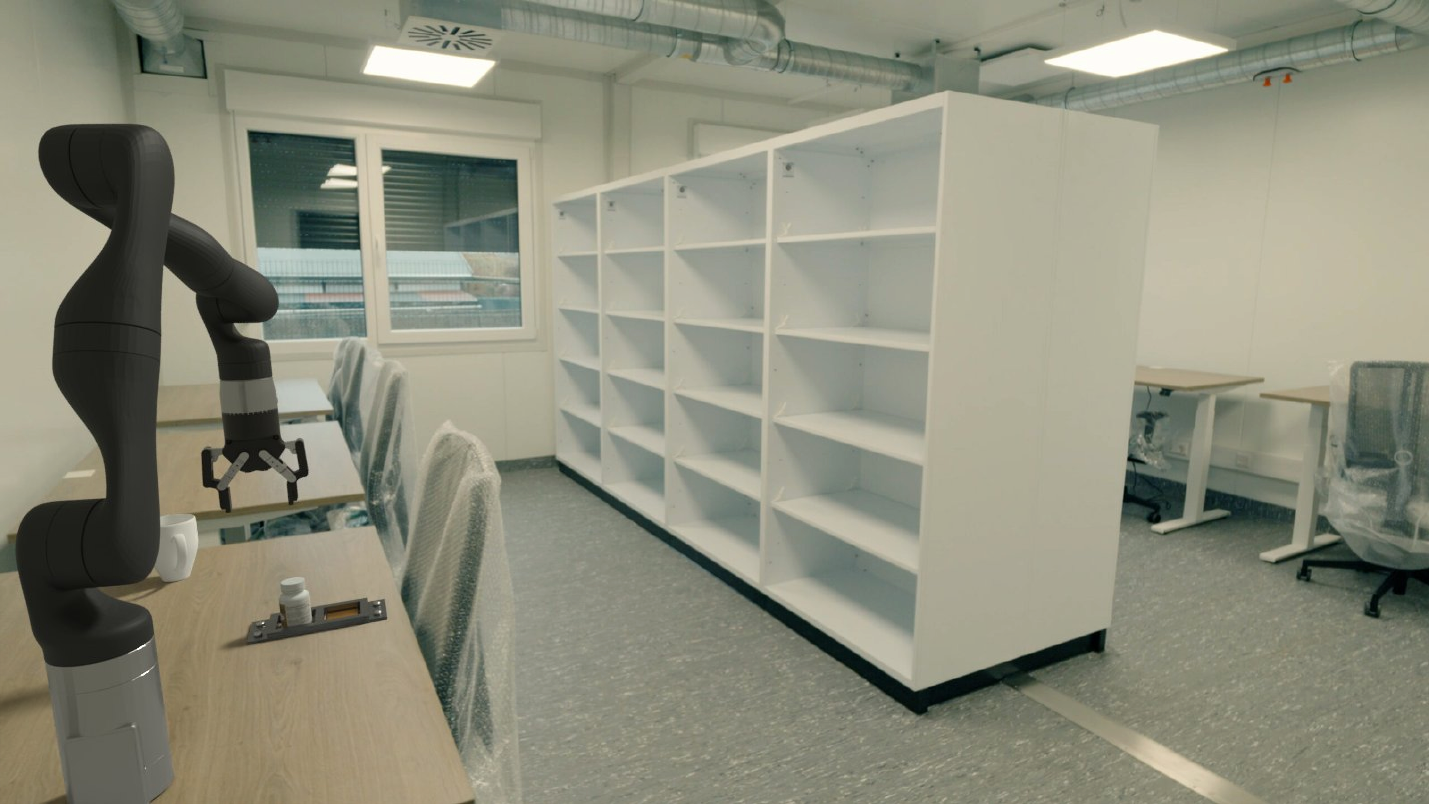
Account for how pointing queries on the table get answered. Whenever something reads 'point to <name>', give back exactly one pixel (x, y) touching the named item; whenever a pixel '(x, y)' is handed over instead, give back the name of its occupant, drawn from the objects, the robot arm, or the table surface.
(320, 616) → the metal frame plate
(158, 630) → the table surface
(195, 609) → the table surface
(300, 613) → the pill bottle
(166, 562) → the mug
